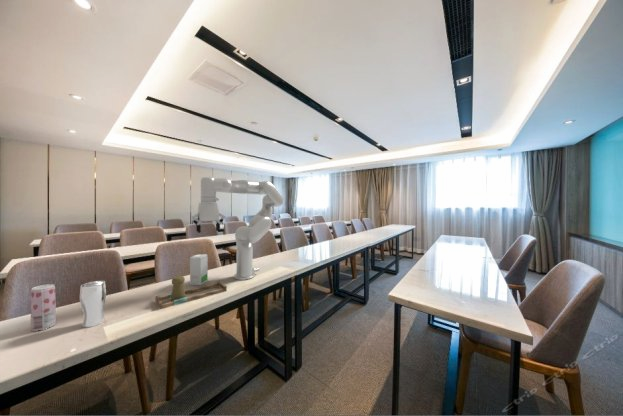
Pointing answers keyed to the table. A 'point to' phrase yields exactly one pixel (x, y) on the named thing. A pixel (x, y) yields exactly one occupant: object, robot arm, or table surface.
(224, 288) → the brown wooden tray
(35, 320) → the beverage can
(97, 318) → the beer glass
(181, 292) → the cork
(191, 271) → the skincare box
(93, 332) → the table surface
